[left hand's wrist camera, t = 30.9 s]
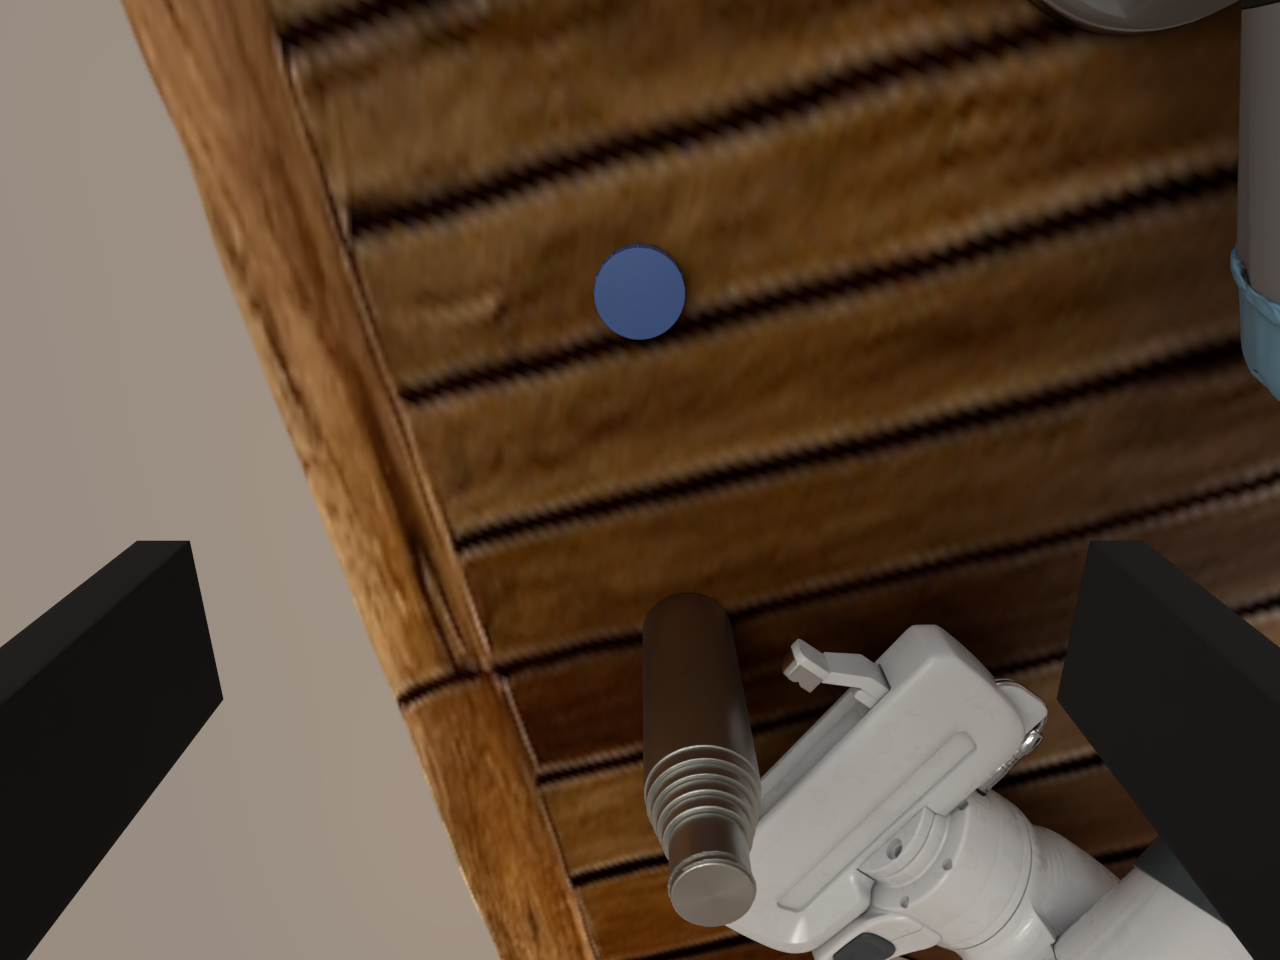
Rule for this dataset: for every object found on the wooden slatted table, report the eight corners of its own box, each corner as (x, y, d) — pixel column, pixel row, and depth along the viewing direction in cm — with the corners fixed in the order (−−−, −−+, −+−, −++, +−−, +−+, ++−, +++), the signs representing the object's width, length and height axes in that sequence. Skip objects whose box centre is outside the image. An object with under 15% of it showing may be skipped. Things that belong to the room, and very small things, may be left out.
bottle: (748, 639, 50) (807, 907, 32) (677, 684, 51) (696, 966, 33) (697, 576, 48) (730, 820, 31) (625, 623, 49) (616, 885, 32)
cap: (693, 252, 42) (695, 256, 40) (674, 341, 43) (676, 348, 42) (603, 234, 42) (601, 237, 40) (588, 324, 43) (586, 331, 42)
